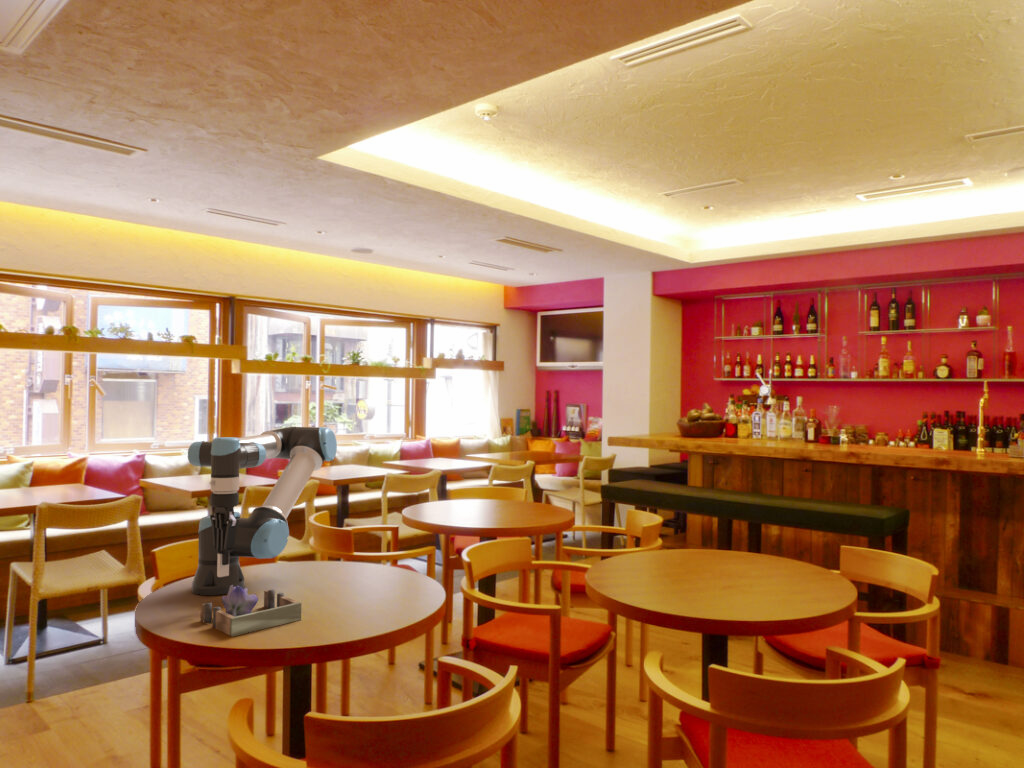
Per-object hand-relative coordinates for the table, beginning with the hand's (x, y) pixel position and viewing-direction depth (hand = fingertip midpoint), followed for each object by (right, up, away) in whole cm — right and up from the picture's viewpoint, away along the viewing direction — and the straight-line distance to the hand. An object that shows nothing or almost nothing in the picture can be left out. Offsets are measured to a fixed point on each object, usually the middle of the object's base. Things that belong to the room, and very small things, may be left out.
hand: (223, 575), depth 199 cm
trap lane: (+12, -9, -11) cm, 19 cm away
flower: (+8, -9, -9) cm, 15 cm away
